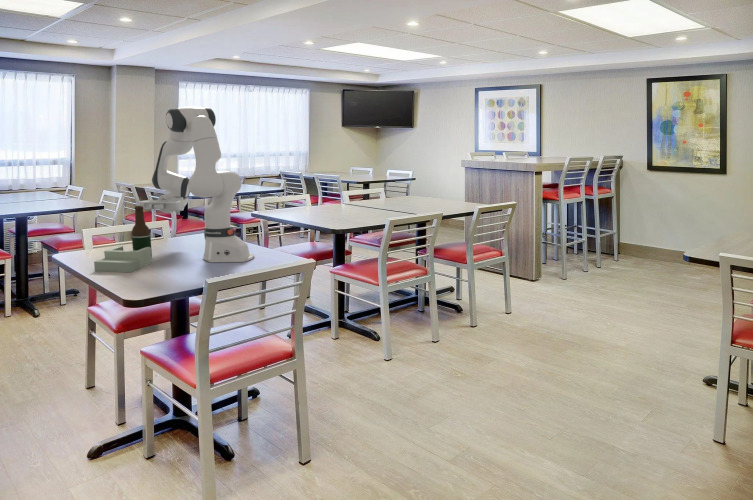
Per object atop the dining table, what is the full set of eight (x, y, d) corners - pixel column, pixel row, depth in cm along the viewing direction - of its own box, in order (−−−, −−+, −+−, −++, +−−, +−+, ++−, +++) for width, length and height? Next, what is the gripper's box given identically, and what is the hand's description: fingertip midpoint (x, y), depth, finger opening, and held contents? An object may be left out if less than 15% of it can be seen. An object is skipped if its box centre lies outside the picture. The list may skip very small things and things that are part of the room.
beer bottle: (129, 260, 267) (125, 206, 262) (143, 256, 274) (139, 204, 269) (142, 262, 264) (137, 207, 259) (156, 258, 270) (152, 205, 266)
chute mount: (153, 262, 262) (152, 247, 261) (131, 272, 244) (130, 255, 243) (118, 261, 264) (117, 246, 263) (94, 271, 247) (93, 254, 245)
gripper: (146, 196, 290) (131, 200, 277) (186, 197, 288) (173, 200, 274) (147, 209, 292) (132, 213, 278) (187, 210, 289) (173, 214, 276)
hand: (152, 207), depth 276 cm, fingers closed
